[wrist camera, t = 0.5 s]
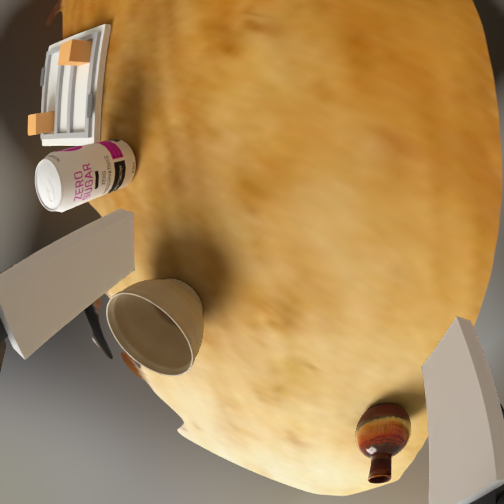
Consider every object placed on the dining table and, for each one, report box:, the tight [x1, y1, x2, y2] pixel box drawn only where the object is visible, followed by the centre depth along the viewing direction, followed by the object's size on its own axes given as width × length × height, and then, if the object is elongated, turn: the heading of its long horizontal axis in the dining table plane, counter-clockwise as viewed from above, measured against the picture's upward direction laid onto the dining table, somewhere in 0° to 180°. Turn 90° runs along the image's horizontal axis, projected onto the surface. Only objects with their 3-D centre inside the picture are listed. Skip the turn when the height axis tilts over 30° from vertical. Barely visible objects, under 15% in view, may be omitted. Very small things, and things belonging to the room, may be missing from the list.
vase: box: [355, 403, 411, 483], centre depth 40 cm, size 11×11×15 cm
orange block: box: [58, 39, 93, 66], centre depth 32 cm, size 4×3×5 cm
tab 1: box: [28, 111, 55, 135], centre depth 40 cm, size 4×3×5 cm
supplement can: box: [35, 139, 136, 212], centre depth 36 cm, size 8×8×15 cm
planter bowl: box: [106, 279, 203, 376], centre depth 45 cm, size 16×16×11 cm
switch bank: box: [40, 24, 112, 146], centre depth 38 cm, size 22×18×2 cm
